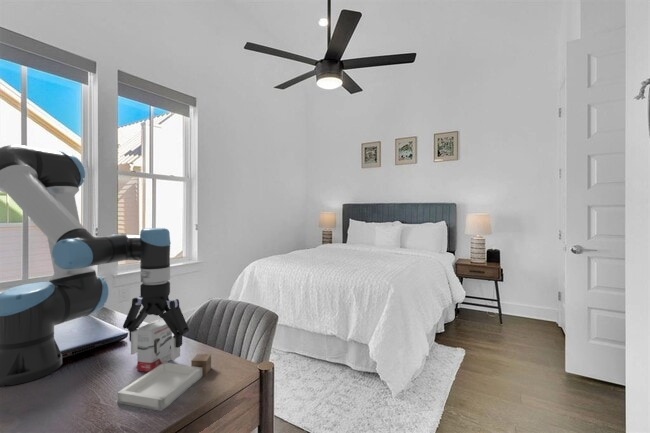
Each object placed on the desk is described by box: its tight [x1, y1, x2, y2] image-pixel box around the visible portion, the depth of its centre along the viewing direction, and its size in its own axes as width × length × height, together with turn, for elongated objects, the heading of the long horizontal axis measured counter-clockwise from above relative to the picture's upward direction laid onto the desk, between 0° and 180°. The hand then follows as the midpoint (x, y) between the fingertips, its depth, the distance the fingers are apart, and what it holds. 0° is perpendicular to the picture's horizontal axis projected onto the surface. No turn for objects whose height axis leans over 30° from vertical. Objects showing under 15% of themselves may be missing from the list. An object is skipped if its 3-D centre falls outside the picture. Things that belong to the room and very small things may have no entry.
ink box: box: [136, 319, 173, 373], centre depth 91 cm, size 9×5×12 cm, turn 168°
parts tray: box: [116, 362, 203, 412], centre depth 79 cm, size 12×15×2 cm
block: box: [190, 353, 212, 376], centre depth 88 cm, size 4×4×4 cm
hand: (155, 355), depth 91 cm, fingers open, 13 cm apart
